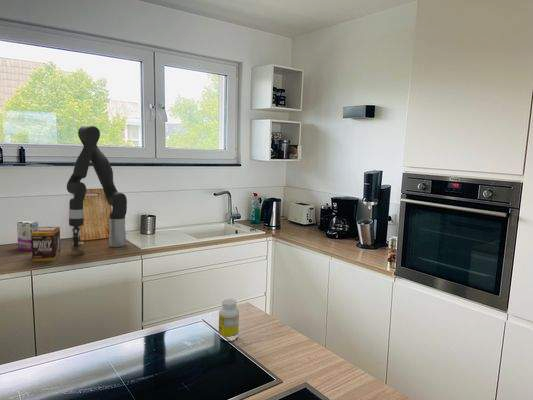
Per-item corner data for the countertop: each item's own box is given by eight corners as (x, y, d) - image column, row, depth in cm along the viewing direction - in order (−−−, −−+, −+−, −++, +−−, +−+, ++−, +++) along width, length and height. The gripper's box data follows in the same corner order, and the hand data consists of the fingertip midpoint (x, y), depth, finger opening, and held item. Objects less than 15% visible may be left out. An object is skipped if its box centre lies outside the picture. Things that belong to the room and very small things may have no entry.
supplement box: (32, 261, 206) (30, 232, 204) (40, 253, 221) (39, 226, 219) (54, 261, 209) (53, 232, 207) (60, 253, 224) (60, 226, 222)
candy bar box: (39, 249, 229) (38, 221, 227) (31, 251, 224) (30, 223, 222) (25, 247, 233) (24, 219, 231) (17, 249, 228) (16, 221, 226)
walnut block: (83, 251, 229) (83, 241, 228) (83, 254, 223) (83, 244, 223) (72, 252, 226) (71, 242, 226) (71, 255, 221) (71, 244, 220)
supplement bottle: (219, 333, 137) (220, 297, 135) (238, 333, 137) (239, 297, 135) (217, 342, 130) (218, 305, 128) (238, 343, 130) (239, 305, 129)
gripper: (83, 219, 217) (83, 248, 219) (84, 214, 230) (83, 242, 232) (68, 219, 214) (68, 248, 216) (69, 215, 227) (69, 242, 229)
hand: (76, 245), depth 224 cm, fingers open, 8 cm apart
